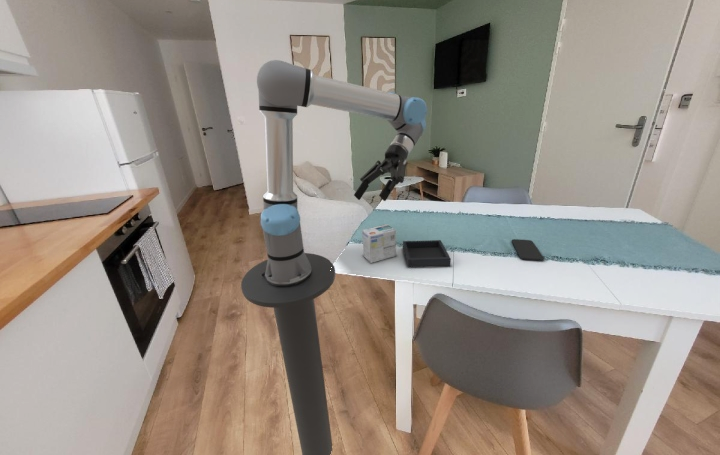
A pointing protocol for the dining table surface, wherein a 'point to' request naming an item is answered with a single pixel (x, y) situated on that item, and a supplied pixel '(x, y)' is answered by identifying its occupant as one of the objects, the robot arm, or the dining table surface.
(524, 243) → the phone
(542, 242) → the dining table surface
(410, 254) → the pad
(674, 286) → the dining table surface
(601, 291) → the dining table surface
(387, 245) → the light bulb box
